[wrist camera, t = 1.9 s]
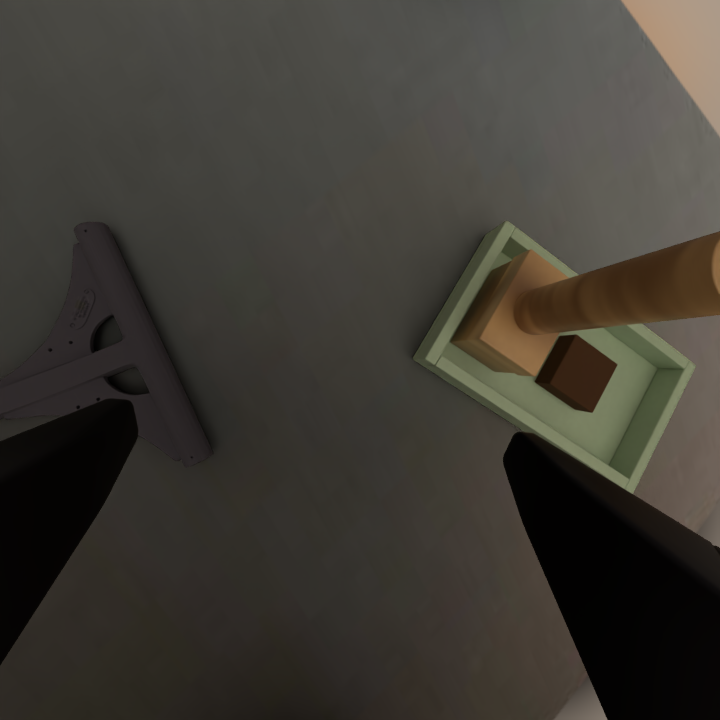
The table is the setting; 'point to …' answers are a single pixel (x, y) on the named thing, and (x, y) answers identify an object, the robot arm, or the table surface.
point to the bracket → (105, 355)
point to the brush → (584, 301)
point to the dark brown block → (576, 373)
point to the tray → (542, 409)
